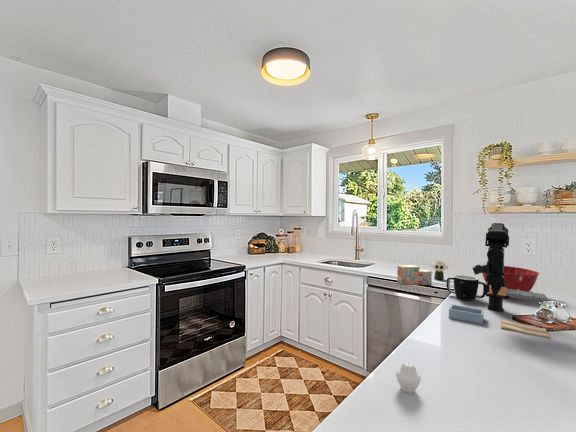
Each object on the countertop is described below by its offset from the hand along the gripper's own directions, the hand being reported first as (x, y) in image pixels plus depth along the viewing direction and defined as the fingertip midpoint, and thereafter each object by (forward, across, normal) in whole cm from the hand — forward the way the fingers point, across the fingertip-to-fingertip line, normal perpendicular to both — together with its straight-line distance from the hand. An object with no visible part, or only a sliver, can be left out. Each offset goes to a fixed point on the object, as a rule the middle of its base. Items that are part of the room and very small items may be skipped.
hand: (494, 295), depth 129 cm
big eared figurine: (+13, -85, -34) cm, 92 cm away
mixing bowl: (+13, -65, +6) cm, 67 cm away
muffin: (+12, +75, -18) cm, 78 cm away
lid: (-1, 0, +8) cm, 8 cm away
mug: (+13, -38, -14) cm, 42 cm away
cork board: (+12, 0, +10) cm, 16 cm away
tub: (+12, 0, -10) cm, 16 cm away
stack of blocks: (+13, -56, -45) cm, 73 cm away
